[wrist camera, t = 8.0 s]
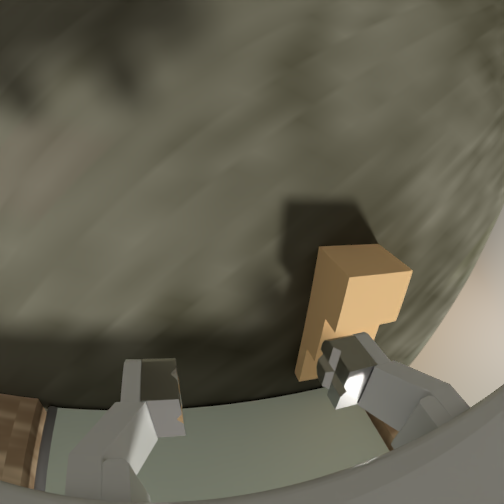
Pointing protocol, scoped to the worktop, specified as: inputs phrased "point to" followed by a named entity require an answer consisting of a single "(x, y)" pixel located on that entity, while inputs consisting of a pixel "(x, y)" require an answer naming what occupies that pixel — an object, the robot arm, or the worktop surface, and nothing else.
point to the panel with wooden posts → (31, 428)
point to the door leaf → (229, 447)
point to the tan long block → (350, 298)
